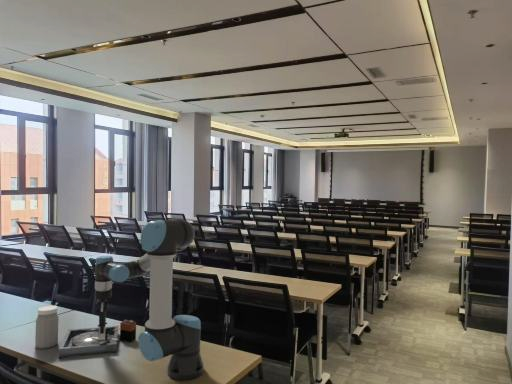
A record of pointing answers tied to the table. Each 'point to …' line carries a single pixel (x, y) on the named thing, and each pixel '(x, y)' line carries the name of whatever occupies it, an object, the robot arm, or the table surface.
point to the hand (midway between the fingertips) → (101, 339)
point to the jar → (46, 327)
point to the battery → (128, 331)
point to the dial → (90, 339)
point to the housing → (70, 351)
